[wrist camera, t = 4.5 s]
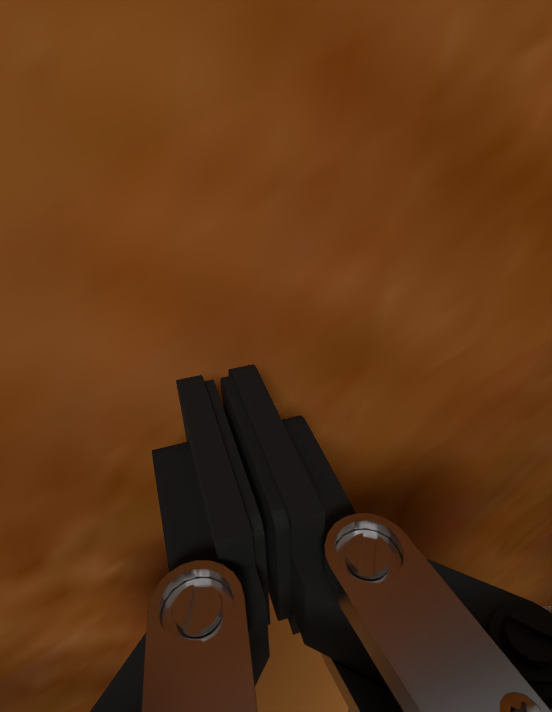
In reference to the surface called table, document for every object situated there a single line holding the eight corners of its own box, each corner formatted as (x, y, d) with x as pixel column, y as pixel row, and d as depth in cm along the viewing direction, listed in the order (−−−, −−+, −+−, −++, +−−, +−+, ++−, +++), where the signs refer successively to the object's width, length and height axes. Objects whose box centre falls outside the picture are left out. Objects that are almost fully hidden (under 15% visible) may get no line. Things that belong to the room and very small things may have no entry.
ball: (114, 538, 14) (128, 804, 9) (311, 488, 15) (410, 694, 11) (146, 642, 17) (168, 875, 13) (305, 593, 19) (378, 784, 14)
